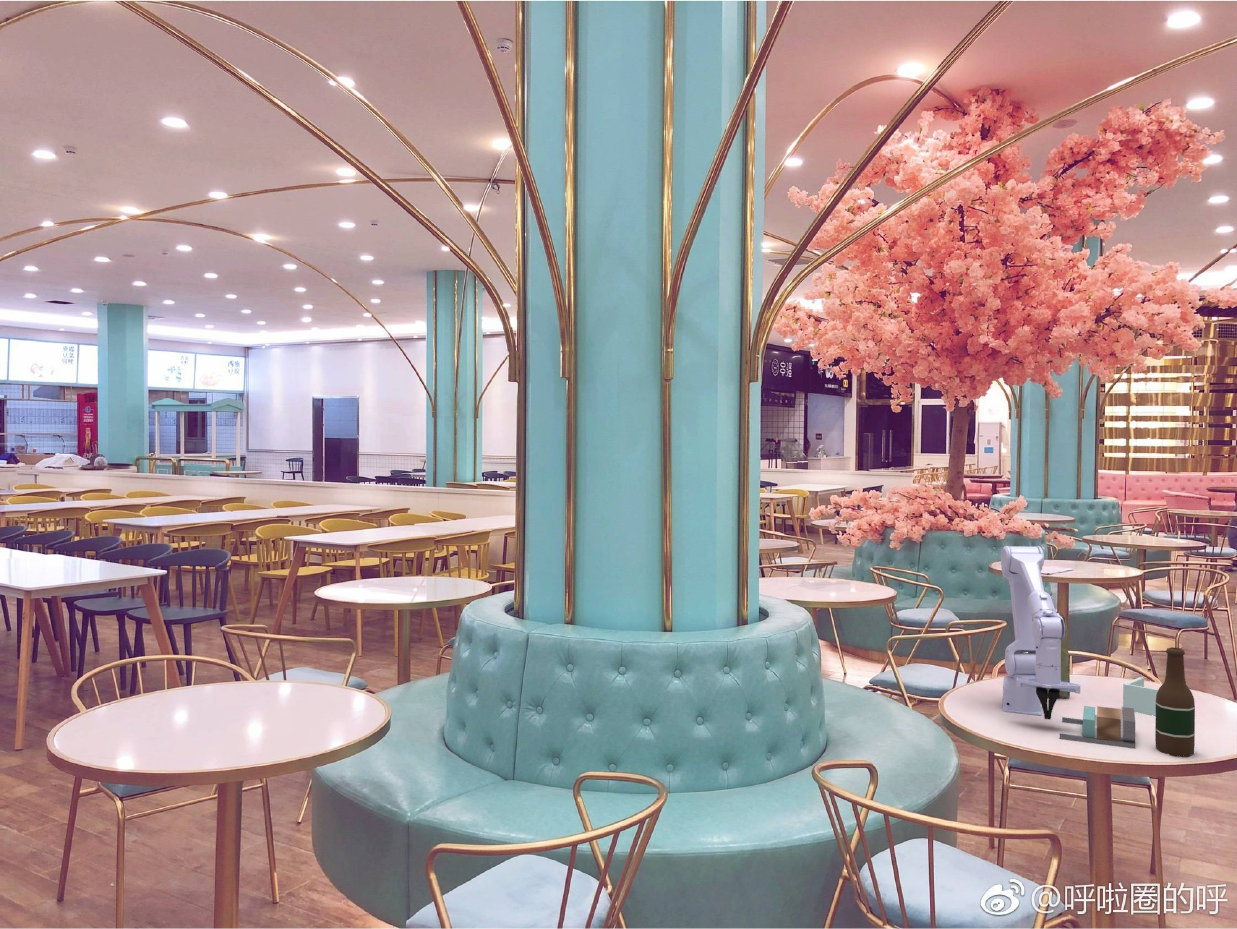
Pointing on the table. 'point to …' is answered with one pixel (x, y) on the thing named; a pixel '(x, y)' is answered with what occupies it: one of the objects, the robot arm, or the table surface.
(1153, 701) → the l-shaped corner panel
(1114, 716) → the walnut block
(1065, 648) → the pouch
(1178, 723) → the beer bottle
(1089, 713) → the block
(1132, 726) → the vise
